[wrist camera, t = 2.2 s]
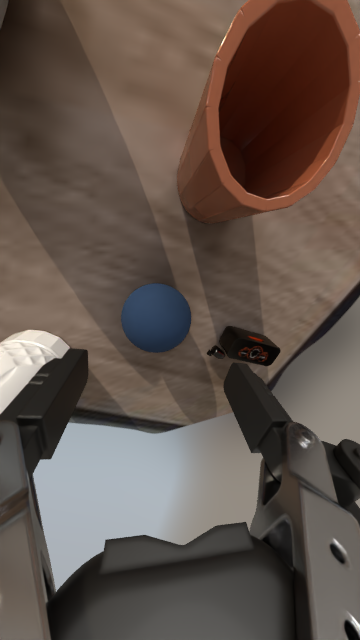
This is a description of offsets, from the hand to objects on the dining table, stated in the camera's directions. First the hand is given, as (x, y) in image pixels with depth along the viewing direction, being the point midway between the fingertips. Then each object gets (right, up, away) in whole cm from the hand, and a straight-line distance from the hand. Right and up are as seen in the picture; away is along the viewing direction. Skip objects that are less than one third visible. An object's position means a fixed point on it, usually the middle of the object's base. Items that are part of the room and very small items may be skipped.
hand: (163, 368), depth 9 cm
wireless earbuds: (+8, 0, +13) cm, 16 cm away
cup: (+4, +15, +5) cm, 16 cm away
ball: (-1, +3, +7) cm, 7 cm away
